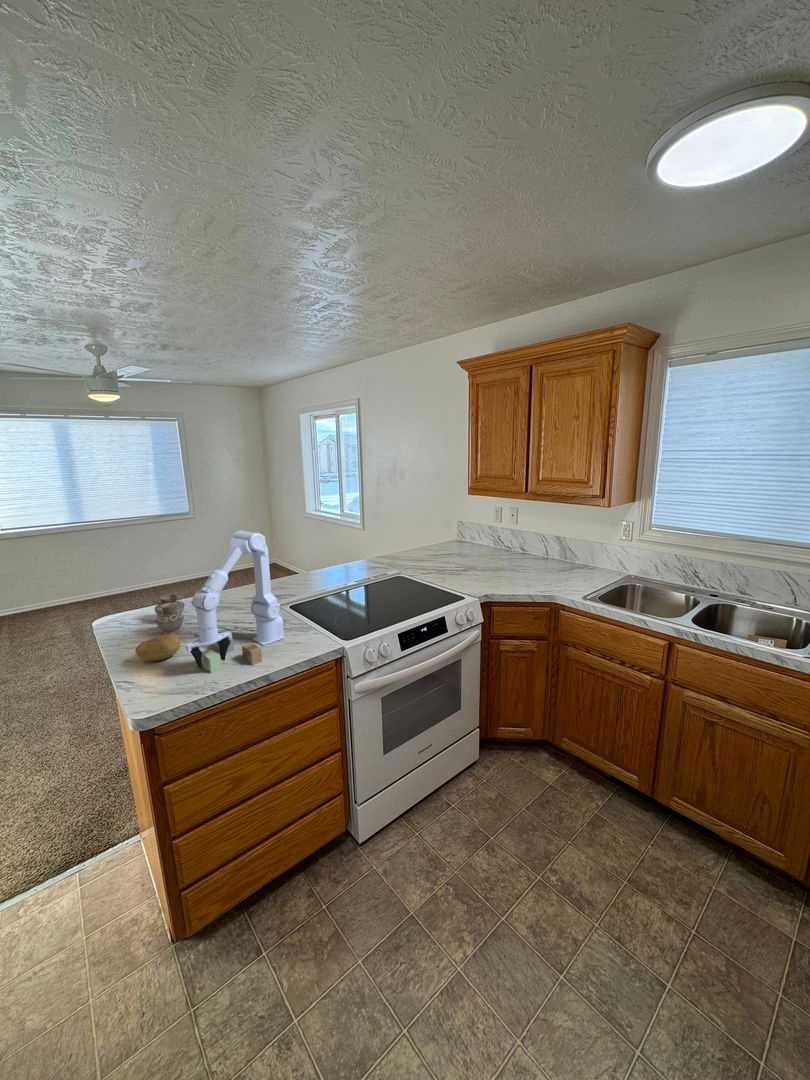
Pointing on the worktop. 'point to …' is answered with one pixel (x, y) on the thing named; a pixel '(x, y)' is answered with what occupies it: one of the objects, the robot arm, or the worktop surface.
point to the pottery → (169, 614)
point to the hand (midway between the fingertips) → (211, 663)
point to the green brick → (211, 660)
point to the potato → (158, 647)
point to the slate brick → (228, 647)
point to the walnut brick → (251, 653)
